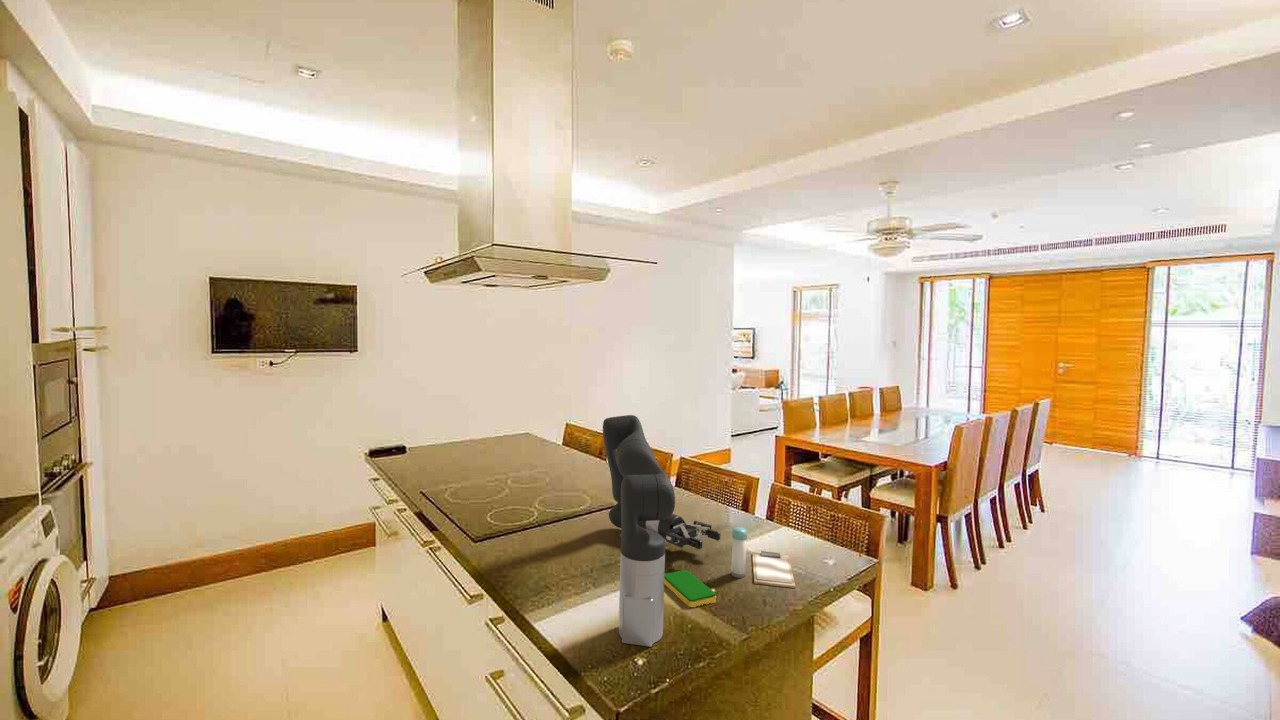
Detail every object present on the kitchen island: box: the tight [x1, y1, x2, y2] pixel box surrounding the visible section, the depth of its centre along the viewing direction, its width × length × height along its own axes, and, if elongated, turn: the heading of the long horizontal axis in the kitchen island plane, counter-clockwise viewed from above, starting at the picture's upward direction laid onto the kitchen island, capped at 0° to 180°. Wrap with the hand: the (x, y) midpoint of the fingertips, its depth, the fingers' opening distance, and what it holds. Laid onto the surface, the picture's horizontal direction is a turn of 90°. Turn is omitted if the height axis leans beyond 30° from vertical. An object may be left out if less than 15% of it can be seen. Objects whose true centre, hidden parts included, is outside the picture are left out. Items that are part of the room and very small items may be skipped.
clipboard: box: [752, 550, 796, 589], centre depth 140 cm, size 18×10×1 cm, turn 169°
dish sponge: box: [664, 569, 717, 608], centre depth 127 cm, size 7×14×2 cm, turn 26°
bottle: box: [730, 526, 748, 579], centre depth 137 cm, size 4×4×12 cm
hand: (710, 540), depth 143 cm, fingers open, 8 cm apart
